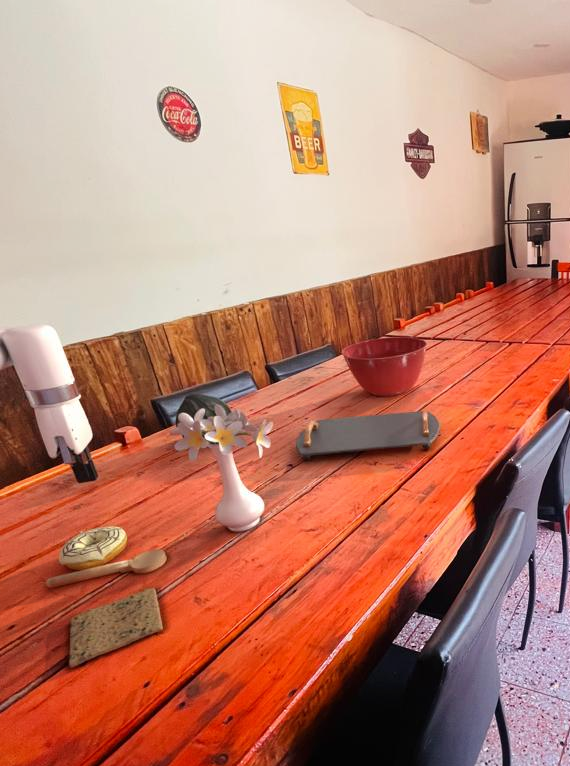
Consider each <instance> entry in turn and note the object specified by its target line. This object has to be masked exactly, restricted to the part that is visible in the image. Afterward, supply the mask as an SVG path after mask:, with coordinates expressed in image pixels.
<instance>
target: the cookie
mask: <svg viewBox="0 0 570 766" xmlns="http://www.w3.org/2000/svg"><path fill="white" fill-rule="evenodd" d="M69 628H70V629H69V633H70V634H69V655H68V659H69V660H68V665H69V668H71V669H72V668H74V667H77V666H78V665H82V664H83V663H84V662H87V661H89V660H91V659H93V658H96V657H99V656H101V655H103V654H106V653H109V652H111V651H114V650H117V649H120V648H122V647H124V646H127V645H129V644H131V643H133V642H136V641H137V640H140V639H143V638H144V637H147V636H150V635H152V634H155V633H159V632H161V631H163V621H162V616H161V611H160V604H159V601H158V595H157V591H156V588H155V587H151V588H146V589H143V590H141V591H138V592H136V593H132V594H130V595H128V596H126V597H123V598H120V599H118V600H115V601H113V602H110V603H107V604H104V605H100V606H98V607H95V608H90V609H87V611H84V612H82V613H79V614H76V615H75V616H72V618H71V619H70V623H69Z"/></svg>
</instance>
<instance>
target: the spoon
mask: <svg viewBox="0 0 570 766" xmlns="http://www.w3.org/2000/svg"><path fill="white" fill-rule="evenodd" d="M166 561H167V555H166V553H165V551H164V549H163V550H162V549H159V548H158V549H157V548H156V549H150V550H147V551H144V552H142V553H141V552H140V554H138V555H136V556H135V557H134V558H130V559H124V560H120V561H116V562H112V563H106V564H103V565H100V566H98V567H94V568H90V569H86V570H76V571H74V572H70V573H65V574H60V575H56V576H51V577H49V578H48V579H46V581H45V586H46V587H47V588H50V589H53V588H57V587H62V586H65V585H70V584H75V583H79V582H83V581H87V580H91V579H95V578H99V577H103V576H107V575H111V574H116V573H119V572H120V574H123V573H128V572H131V571H132V572H133V573H134V574H147V573H150V572H153V571H155V570H157V569H159V568H161V567H163V565H164V564H166Z"/></svg>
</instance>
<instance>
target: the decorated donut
mask: <svg viewBox="0 0 570 766" xmlns="http://www.w3.org/2000/svg"><path fill="white" fill-rule="evenodd" d="M127 541H128V535H127V533H126V531H125V530H124V529H123V528H122V527H120V526H111V525H109V526H103V527H96V528H93V529H88V530H85V531H82V532H80V533H79V534H77V535H75V536H73V537H72V538H70V539H69V540H68V541H66V543H64V545H63V546H62V547H61V549H60V553H59V556H58V562H59V564H60V565H62V566H66V567H67V568H68V569H71V570H73V571H81V570H86V569H90V568H94V567H99V566H103V565H106V564H108V562H110V561H113V560H114V558H115V557H117V556H118V555H119V554H121V552H123V551H124V550H125V548H126V545H127V543H128V542H127Z"/></svg>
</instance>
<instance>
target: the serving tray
mask: <svg viewBox="0 0 570 766" xmlns="http://www.w3.org/2000/svg"><path fill="white" fill-rule="evenodd" d="M440 429H441V423H440V421H439V419H438V418H437V416H435V415H434V414H433V413H431V412H430V411H427V410H420V411H409V412H396V413H394V412H393V413H387V414H384V413H383V414H369V415H361V416H347V417H338V418H337V417H336V418H326V419H317V420H316V421H314V420H310V421H308V422H307V424H306V426H305V428H304V429H303V430H302V431H301V432H300V433H299V434H298V436H297V438H296V440H295V450H296V452H297V454H298V456H300V457H301V459H302V460H303V461H304V462H309V461H310V460H311V457H312V456H318V455H320V456H321V455H331V454H340V453H351V452H362V451H373V450H374V451H375V450H385V449H395V448H406V447H418V446H422V448H423V450H424V451H430V449H431V447H432V443H433V442H434V441H435V440H436V438H438V435H439V434H440Z"/></svg>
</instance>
